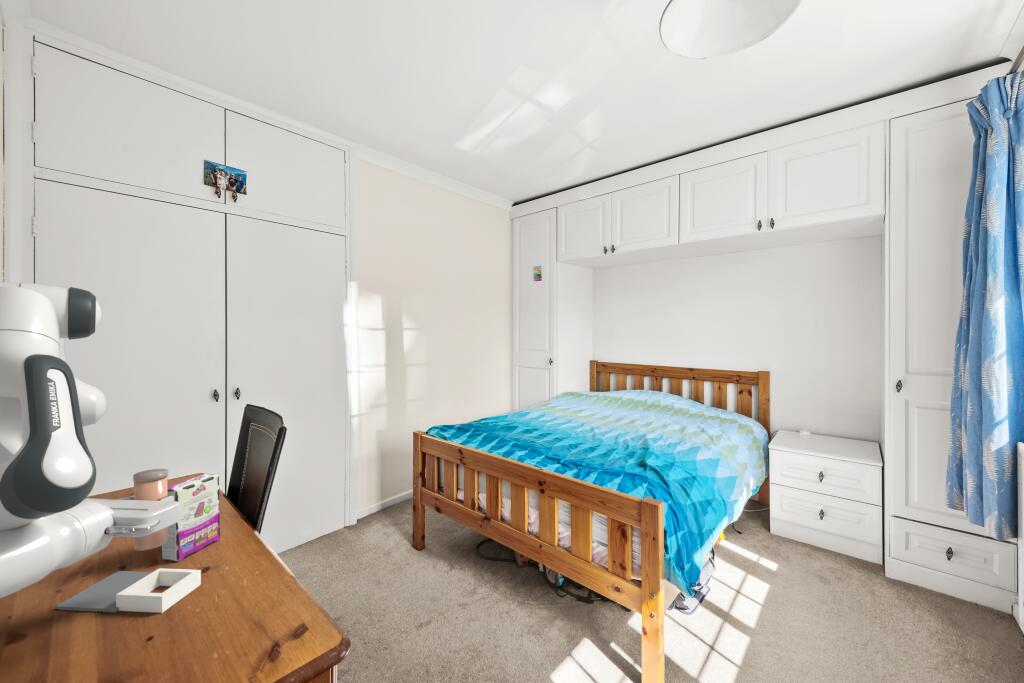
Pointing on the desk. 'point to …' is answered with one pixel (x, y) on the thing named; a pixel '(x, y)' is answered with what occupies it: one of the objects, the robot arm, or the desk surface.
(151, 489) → the canister
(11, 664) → the desk surface
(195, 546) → the candy bar box
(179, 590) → the frame
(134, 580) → the mat
